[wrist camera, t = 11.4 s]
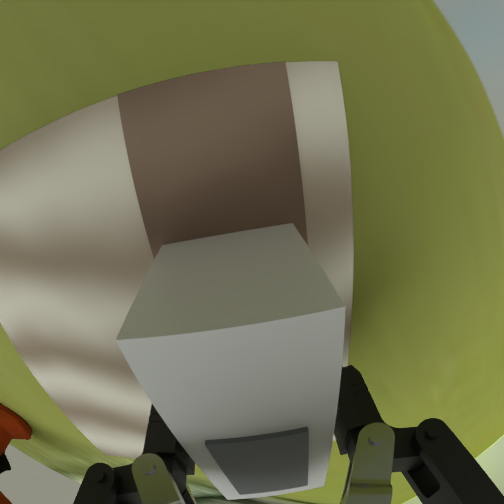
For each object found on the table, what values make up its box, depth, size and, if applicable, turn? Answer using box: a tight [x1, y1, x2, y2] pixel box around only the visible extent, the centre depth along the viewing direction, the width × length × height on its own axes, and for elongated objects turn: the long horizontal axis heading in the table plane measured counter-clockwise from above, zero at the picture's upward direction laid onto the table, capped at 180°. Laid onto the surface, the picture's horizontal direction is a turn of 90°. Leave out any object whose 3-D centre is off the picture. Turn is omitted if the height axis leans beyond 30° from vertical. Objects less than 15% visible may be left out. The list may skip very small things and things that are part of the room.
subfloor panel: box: [0, 61, 354, 458], centre depth 14 cm, size 24×20×1 cm
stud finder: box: [116, 223, 346, 500], centre depth 11 cm, size 12×5×6 cm, turn 8°
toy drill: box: [0, 404, 32, 504], centre depth 12 cm, size 5×19×15 cm, turn 71°
